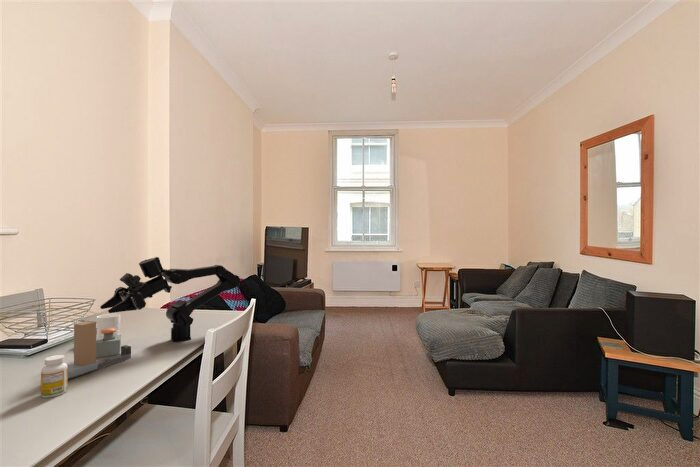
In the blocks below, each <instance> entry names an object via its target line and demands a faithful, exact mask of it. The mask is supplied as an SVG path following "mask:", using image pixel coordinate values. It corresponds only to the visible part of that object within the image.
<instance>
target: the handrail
mask: <svg viewBox="0 0 700 467" xmlns="http://www.w3.org/2000/svg"><path fill="white" fill-rule="evenodd" d="M131 358H132V346H131V345H127V344H125V345H121V350H120V354H116V355H110V356H108V357H105V358H102V359H100V360H96V362H98V366H97V369H94V370H91V371H88V372H86V373H83V374H80V375H77V376H74V377H71V378H68V380H71V379H74V378H77V377H80V376H83V375H86V374H88V373H91V372H94V371H97V370H100V369H103V368H106V367H108V366H111V365H114V364H117V363H119V362H123V361H126V360H129V359H131Z"/></svg>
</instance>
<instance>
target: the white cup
mask: <svg viewBox="0 0 700 467" xmlns="http://www.w3.org/2000/svg"><path fill="white" fill-rule="evenodd" d="M121 315H122V314H121V313H120V312H115V313H103V314H99V315H97V316H96V334H97V338H100V337H104V334H102V333H101V330H103V329H107V328H116V332H113V336H115V335H120V330H121V329H120V328H121Z"/></svg>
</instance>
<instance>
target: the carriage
mask: <svg viewBox="0 0 700 467" xmlns="http://www.w3.org/2000/svg"><path fill="white" fill-rule="evenodd" d="M96 340H97V321H93V320H84V321H81V322H76V323H73V363H71V364H69V365H68V364H67V366H68V378H71V377H74V376H77V375H80V374H83V373H86V372H88V371H91V370H94V369H97V366H98V362H96V361H97V357H96ZM97 370H98V369H97ZM94 371H95V370H94ZM86 374H87V373H86ZM83 375H84V374H83ZM80 376H81V375H80ZM77 377H78V376H77ZM74 378H75V377H74ZM71 379H72V378H71Z"/></svg>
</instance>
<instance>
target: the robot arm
mask: <svg viewBox="0 0 700 467" xmlns="http://www.w3.org/2000/svg"><path fill="white" fill-rule="evenodd" d="M138 265H139V267H140V269H141V272H142V274H143V276H144V277H145V278H148V280H146V281H145V282H144V281H141V277H140V276H139V275H136V274H135V275H133V274H131V273H130V272H129V273H128V272H126V273H125V274H124V275H122V276H121V277H120V278H119V281H120V282H122V283H124V284H125V285H126V286H127V288H126V287H123V286H119V287H117V288H115V290H114V294H113V296H112V297H111V298H109V299H108V300H107V301H106V302H104V303H103V304H101V305H100V306H99V307H100V310H105V309H108V310H107V311H108V314H110V313H122V312H129V311H130V312H131V311H137V310H138V311H139V310H142V309H144V308H146V305H147V302H146V299H148V298H149V299H151V298H153V297H154V295H156V294H158V293H160V292H162V291H164V292H165V293H168V294H169V293H171V290H172V288H173V286H172V285H169V283H170V284H175V285H180V284H183V283H186V282H188V281H189V280H192V279H197V278H203V277H209V276H210V277H211V276H216V277H217V279H218V280H217V282H216V283H215V284H213V285H212V286H210V287H208V288H207V289H205V290H204V291H202V292H200V293H198V294H197V295H195V296H194V297H192V298H190V299H189V300H185V301H184V300H181V299H179V300H177V301H175V303H171V304H170V305H169V307H168V308H167V309H166V313H165V315H166V318H167V319H168V320H169V321H170V323H172V327H171V328H170V340H172V342H173V343H174V342H181V341H182V342H183V341H189V340H192V337H191V325H192V324H193V322H194V318H193V317H192V316H191V315H192V313H193V312H194V311H195V310H196V309H198V308H199V307H201V306H203V305H204V304H205V303H207V302H209V301H210V300H212V299H214V298H215V297H217V296H218V295H220V294H222V293H224V292H226V291H227V292H228V291H232V290H233V289H236V288H239V286H240V284H241V278H240V276H239V275H238V274H237V275H236V274H234V273H233V272H231V271H229V269H227V268H225V267H224V266H223V265H221V264H214V265H210V266H203V267H196V268H190V269H189V268H169V269H166V268H163V266H162V263H161V260H160V257H159V256H154V257H152V258H148V259H144V260H142V261H140V262H139V263H138Z"/></svg>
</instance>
